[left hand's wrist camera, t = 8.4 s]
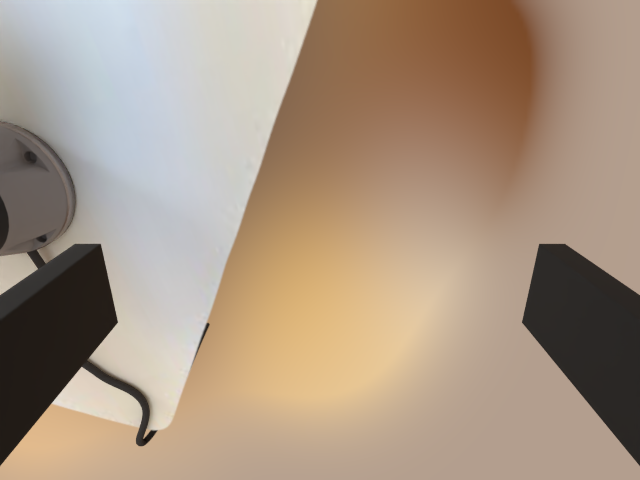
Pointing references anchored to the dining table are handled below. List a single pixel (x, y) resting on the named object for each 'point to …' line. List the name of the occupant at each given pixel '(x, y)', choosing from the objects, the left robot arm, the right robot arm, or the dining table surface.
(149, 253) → the dining table surface
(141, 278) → the dining table surface
